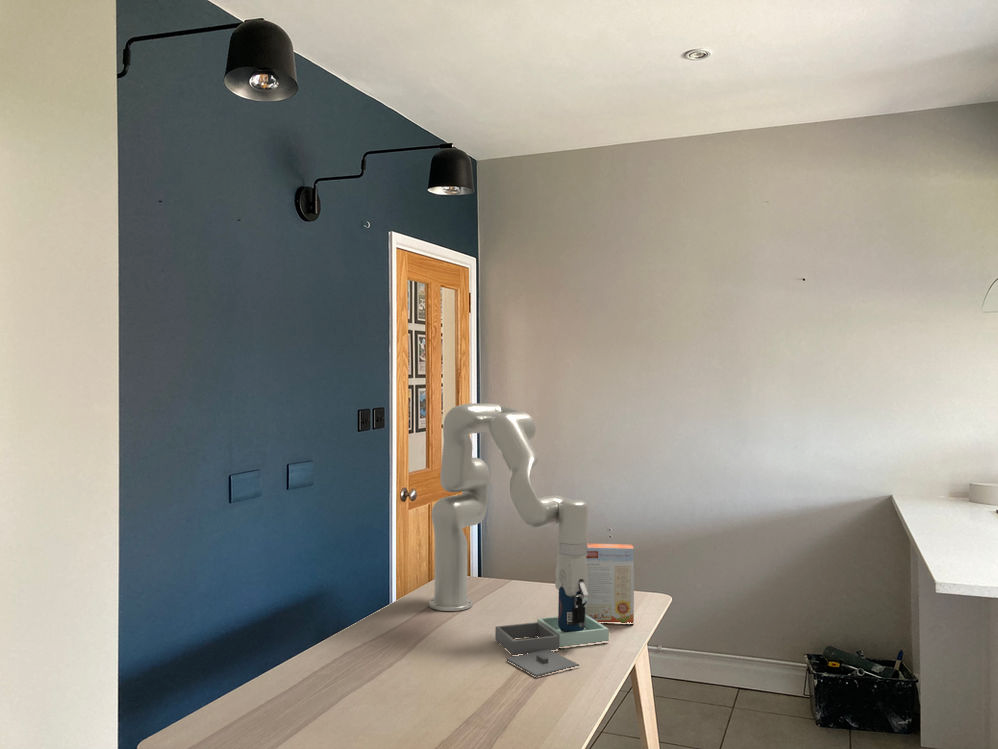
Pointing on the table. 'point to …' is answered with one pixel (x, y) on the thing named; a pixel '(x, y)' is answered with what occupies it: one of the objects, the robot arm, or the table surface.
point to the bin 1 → (524, 646)
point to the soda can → (567, 613)
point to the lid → (542, 662)
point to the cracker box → (610, 582)
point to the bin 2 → (577, 632)
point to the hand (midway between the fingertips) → (571, 617)
